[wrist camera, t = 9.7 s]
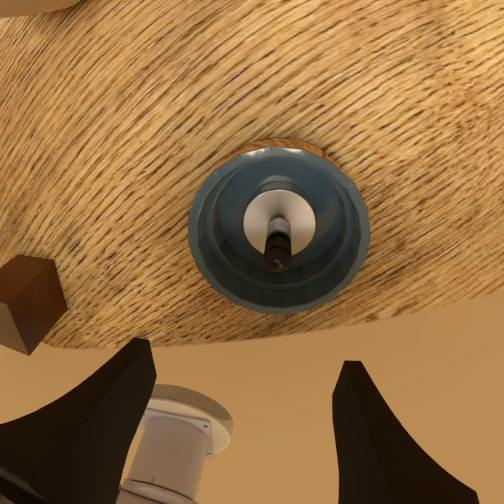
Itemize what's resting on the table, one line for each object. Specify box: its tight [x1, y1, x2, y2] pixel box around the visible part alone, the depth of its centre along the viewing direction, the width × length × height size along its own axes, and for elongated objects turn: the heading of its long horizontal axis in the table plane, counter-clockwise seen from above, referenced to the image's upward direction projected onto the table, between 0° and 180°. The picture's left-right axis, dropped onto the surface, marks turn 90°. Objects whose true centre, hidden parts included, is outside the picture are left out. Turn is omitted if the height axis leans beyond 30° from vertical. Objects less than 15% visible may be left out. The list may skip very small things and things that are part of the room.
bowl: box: [188, 138, 371, 315], centre depth 17 cm, size 9×9×4 cm
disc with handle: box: [242, 182, 317, 272], centre depth 16 cm, size 4×4×6 cm
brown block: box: [0, 255, 67, 356], centre depth 21 cm, size 5×5×6 cm
